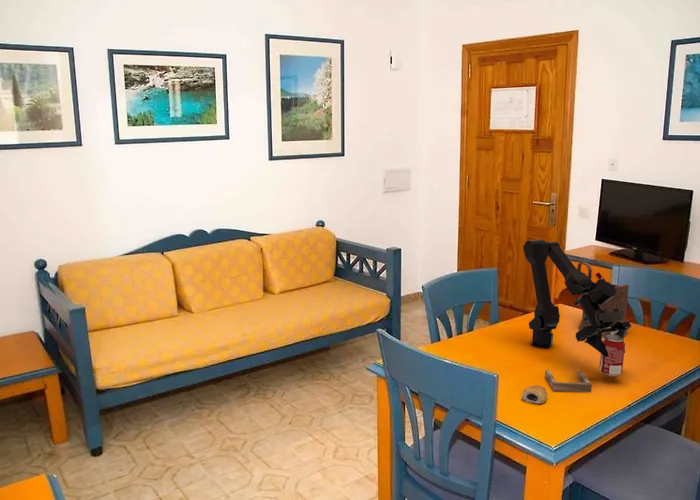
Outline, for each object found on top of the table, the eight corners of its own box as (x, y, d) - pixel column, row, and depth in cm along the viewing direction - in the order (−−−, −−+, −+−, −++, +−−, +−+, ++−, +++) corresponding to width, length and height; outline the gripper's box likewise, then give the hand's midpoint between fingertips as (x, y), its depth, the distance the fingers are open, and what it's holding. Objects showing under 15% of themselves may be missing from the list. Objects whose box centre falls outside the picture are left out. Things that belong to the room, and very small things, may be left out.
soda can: (624, 378, 192) (627, 342, 190) (601, 376, 194) (604, 340, 191) (619, 369, 199) (622, 334, 196) (597, 367, 200) (600, 333, 197)
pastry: (529, 389, 190) (530, 378, 189) (551, 394, 187) (552, 383, 186) (520, 401, 182) (521, 389, 181) (543, 407, 179) (544, 394, 178)
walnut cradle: (544, 376, 199) (545, 369, 198) (580, 377, 198) (581, 370, 197) (553, 391, 188) (553, 383, 188) (591, 392, 187) (591, 384, 187)
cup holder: (603, 341, 230) (609, 277, 224) (557, 322, 251) (561, 263, 246) (638, 334, 237) (645, 271, 232) (590, 316, 259) (595, 258, 253)
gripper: (585, 303, 191) (608, 348, 183) (630, 296, 198) (654, 340, 190) (565, 319, 200) (587, 363, 192) (609, 312, 207) (631, 354, 199)
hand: (615, 355), depth 193 cm, fingers closed on soda can, 6 cm apart
